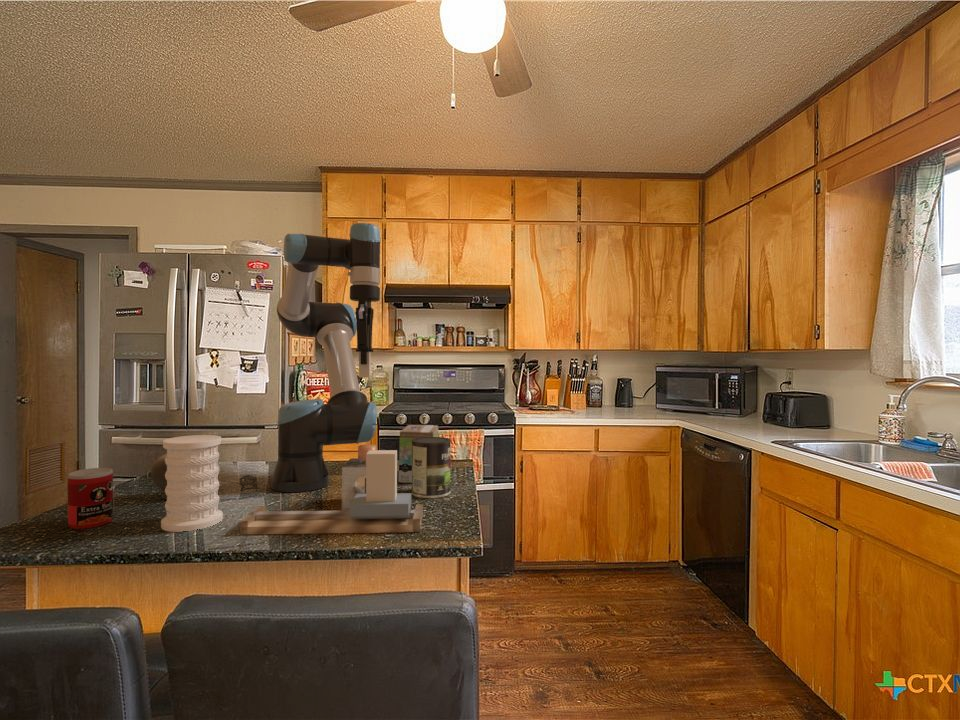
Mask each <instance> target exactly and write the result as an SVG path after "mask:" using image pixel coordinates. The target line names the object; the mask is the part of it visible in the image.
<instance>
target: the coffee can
mask: <svg viewBox="0 0 960 720" xmlns="http://www.w3.org/2000/svg"><path fill="white" fill-rule="evenodd" d="M451 443H452V439H450V438H449V437H444V436H443V437H442V436H438V437H420V438H415V439H412V483H411V496H414V497H416V498H420V499H439V498H445V497H447V496H450V494H451Z"/></svg>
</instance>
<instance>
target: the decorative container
mask: <svg viewBox="0 0 960 720" xmlns="http://www.w3.org/2000/svg"><path fill="white" fill-rule="evenodd" d="M221 444H222V436H221V435H215V434H214V435H213V434H193V435H183V436H181V435H180V436H174V437H170V438H166V439H163V440H162V448H163V449H164V450H166V454H167V456H166V458H165V463H166V465H167V471H166V473H165V478H166V480H167V486H166V488H165V493H166V495H167V499H166V501H165V504H164V509H165V510H166V516H164V517H163V518H161V521H160V528H161V529H162V530H163V531H165V532H170V533H184V532H183V531H188V532H193V530H195V531H199V529H200V530H204V529H203V528H205V529H207V527H208V528H211V527H213V525H214V526H215V524H216V525H218V524H220V523H221V522H222V521H223V520H224V512H223V510H220V509H219V507H218V506H219V503H220V495H219V489H220V481H219V480H218V479H219V478H218V475H219V474H220V467H219V465H218V463H219V462H218V461H219V459H220V453H219V451H218V448H219V447H218V446H220V445H221ZM222 519H223V520H222ZM220 521H221V522H220ZM219 522H220V523H219ZM217 523H218V524H217ZM210 526H211V527H210ZM197 529H198V530H197Z"/></svg>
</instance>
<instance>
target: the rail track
mask: <svg viewBox="0 0 960 720" xmlns="http://www.w3.org/2000/svg"><path fill="white" fill-rule="evenodd" d="M423 517H424V504H419V503H418V504H417V503H416V504H415V507H414V509H411V510H410V512H409V518H377V519H351V517H350V510H277V511H275V510H272V511H271V510H267V505H258V506H257V507H256V508H254V509H253V510H252V511H251V512H250V513H248V514H247V515H246V516H245V517H243V518H242V519H241V520H240V521H239V534H240V535H288V534H289V535H291V534H292V535H293V534H294V535H296V534H297V535H298V534H299V535H300V534H303V535H304V534H307V535H308V534H309V535H310V534H361V533H362V534H363V533H364V534H366V533H367V534H368V533H370V534H371V533H378V534H379V533H421V529H422V525H423Z"/></svg>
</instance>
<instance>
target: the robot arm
mask: <svg viewBox="0 0 960 720" xmlns="http://www.w3.org/2000/svg"><path fill="white" fill-rule="evenodd" d="M348 235H349V239H348V238H338V237H329V236H319V235H312V234H304V233H287V234H286V235H285V236H284V240H283V259H284V261H285V262H286V263H288V268H287V272H286V273H287V274H286V278H285V282H284V289H283V292H282V293H283V294H282V296H281V297H280V298H279V299H278V302H277V305H276V314H277V317H278V319H279V322H280V323H281V324H282V326H283V327H284V328H285V329H286V330H288V331H289V332H291V333H292V334H294V335H296V336H300V337H303V338H304V337H305V338H306V337H307V338H316V340H317V342H318V344H319V345H321V346H322V348H323V353H324V361H325V366H326V372H327V373H326V374H327V379H328V384H329V385H328V386H329V391H330V397H329V398H328V400H327V402H326V403H324V401H323V399H321V398H313V399H312V398H311V399H303V400H297V401H296V400H295V401H291V402H288V403H285V404H283V405H281V406H280V407H279V409H278V416H277V417H278V418H277V422H276V423H277V425H278V428H277V429H278V430H277V432H278V433H277V434H278V435H277V436H278V437H277V445H278V446H277V461H276V463H275V467H274V468H273V473H272V476H271V480H270V488H271V490H274V491H276V492H283V493H300V492H302V493H303V492H310V491H315V490H319V489H323V488H325V487H327V486H328V485H329V484H330V474H329V471H328V468H327V465H326V461H325V459H324V455H323V454H324V453H323V451H324V449H323V448H324V446H336V445H337V446H338V445H347V444H348V445H350V444H356V445H358V444H361V443H369V442H371V441H372V439H373V438H374V436H375V432H376V427H377V418H378V412H377V409H378V408H377V406H376V405H377V404H376V403H375V402H374V401H368V397H367V394H366V393H364V392H363V391H361V389H360V384H359V378H371V353H373V352H374V349H373V346H372V345H373V344H372V343H373V324H374V323H373V322H374V310H375V309H374V308H372V302H374V303H376V302H379V301H380V300H381V297H380V296H381V288H380V287H379V285H380V284H381V268H380V267H381V242H382V239H381V232H380V228H379V226H378V225H376V224H373V223H368V222H357V223H356V222H355V223H353V224H351V226H350V230H349V234H348ZM319 266H326V267H336V268H337V267H338V268H345V269H346V270H350V271H348V272H347V276H348V277H349V283H350V284H351V285H350V287H349V299H350V301H352V302H358V303H357V307H355V310H354V308H353V306H351V305H350V304H348V303H341V302H321V301H319V302H318V301H310V299H311V296H312V295H311V294H312V290H313V288H314V284H315V280H316V277H317V273H318V271H319V270H318V269H319ZM355 336H356V343H357V345H356V348H355V352H357V353H358V374H357V368H356V365H355V360H354V355H353V350H352V345H351V341H353V340H352V339H353V338H354V337H355Z"/></svg>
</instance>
